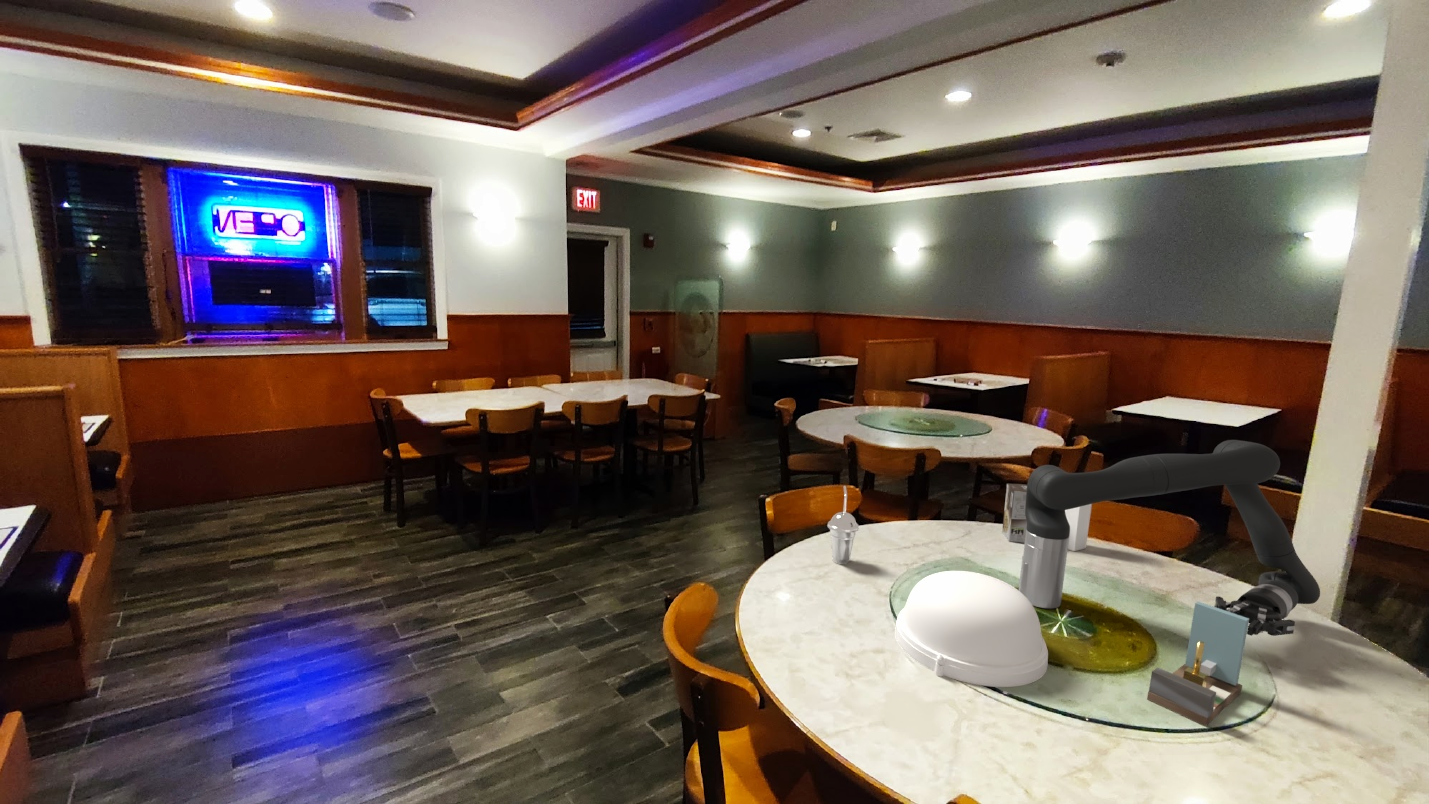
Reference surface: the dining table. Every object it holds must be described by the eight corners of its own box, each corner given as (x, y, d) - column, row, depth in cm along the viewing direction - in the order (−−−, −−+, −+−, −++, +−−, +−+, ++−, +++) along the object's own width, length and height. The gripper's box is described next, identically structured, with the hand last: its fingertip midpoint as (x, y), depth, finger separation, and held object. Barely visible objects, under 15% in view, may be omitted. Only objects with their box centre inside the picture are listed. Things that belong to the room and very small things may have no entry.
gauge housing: (1185, 669, 128) (1189, 644, 127) (1241, 692, 121) (1245, 665, 120) (1147, 699, 118) (1151, 671, 117) (1205, 726, 111) (1210, 697, 110)
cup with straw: (820, 561, 175) (824, 491, 172) (833, 551, 183) (838, 484, 180) (849, 570, 171) (854, 497, 167) (862, 559, 178) (867, 490, 175)
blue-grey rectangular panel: (1188, 662, 127) (1198, 601, 125) (1237, 683, 121) (1249, 618, 119) (1179, 669, 124) (1189, 607, 122) (1229, 690, 118) (1240, 625, 116)
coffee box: (1031, 543, 194) (1037, 492, 192) (1008, 541, 195) (1014, 490, 193) (1023, 533, 203) (1028, 484, 200) (1001, 531, 204) (1006, 482, 202)
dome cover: (930, 597, 157) (936, 543, 155) (1065, 643, 137) (1074, 582, 135) (867, 647, 133) (871, 583, 131) (1019, 711, 114) (1028, 638, 111)
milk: (1086, 548, 192) (1096, 477, 188) (1074, 551, 189) (1084, 479, 185) (1066, 541, 197) (1076, 472, 194) (1054, 544, 194) (1063, 474, 191)
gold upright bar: (1186, 678, 120) (1193, 637, 119) (1205, 686, 118) (1212, 644, 116) (1182, 682, 119) (1189, 640, 118) (1201, 690, 116) (1208, 647, 115)
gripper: (1228, 576, 144) (1198, 595, 134) (1311, 601, 133) (1286, 623, 123) (1222, 608, 145) (1193, 628, 135) (1304, 635, 134) (1279, 660, 124)
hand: (1237, 626), depth 129 cm, fingers open, 3 cm apart
